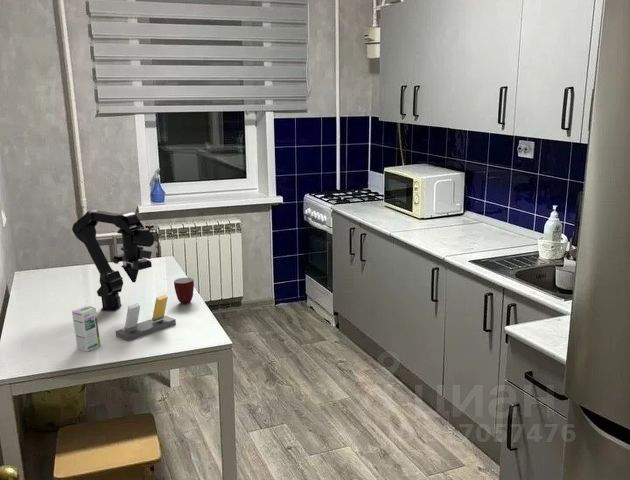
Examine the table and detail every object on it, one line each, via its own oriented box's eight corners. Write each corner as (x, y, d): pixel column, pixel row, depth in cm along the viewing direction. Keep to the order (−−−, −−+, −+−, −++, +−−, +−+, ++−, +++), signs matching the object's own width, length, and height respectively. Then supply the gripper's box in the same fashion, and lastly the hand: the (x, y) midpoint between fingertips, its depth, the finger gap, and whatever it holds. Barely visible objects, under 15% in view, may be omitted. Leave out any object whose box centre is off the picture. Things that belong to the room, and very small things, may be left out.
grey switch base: (128, 341, 218) (127, 335, 217) (116, 336, 223) (115, 330, 222) (175, 324, 233) (175, 318, 233) (163, 319, 238) (162, 314, 238)
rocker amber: (151, 319, 231) (155, 297, 226) (161, 316, 234) (165, 294, 229) (154, 322, 230) (158, 300, 225) (163, 319, 233) (168, 297, 228)
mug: (196, 306, 252) (194, 283, 250) (176, 309, 250) (174, 285, 248) (194, 298, 262) (192, 276, 260) (175, 301, 260) (173, 278, 258)
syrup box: (87, 352, 210) (82, 312, 206) (76, 348, 213) (71, 309, 209) (100, 346, 214) (96, 307, 211) (90, 343, 217) (85, 304, 214)
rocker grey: (124, 329, 222) (127, 306, 217) (134, 326, 225) (138, 303, 220) (126, 332, 221) (130, 308, 216) (136, 328, 224) (140, 305, 219)
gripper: (161, 243, 240) (164, 281, 244) (134, 237, 252) (137, 273, 256) (137, 249, 232) (140, 288, 236) (110, 242, 244) (114, 280, 248)
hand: (134, 282), depth 244 cm, fingers closed
